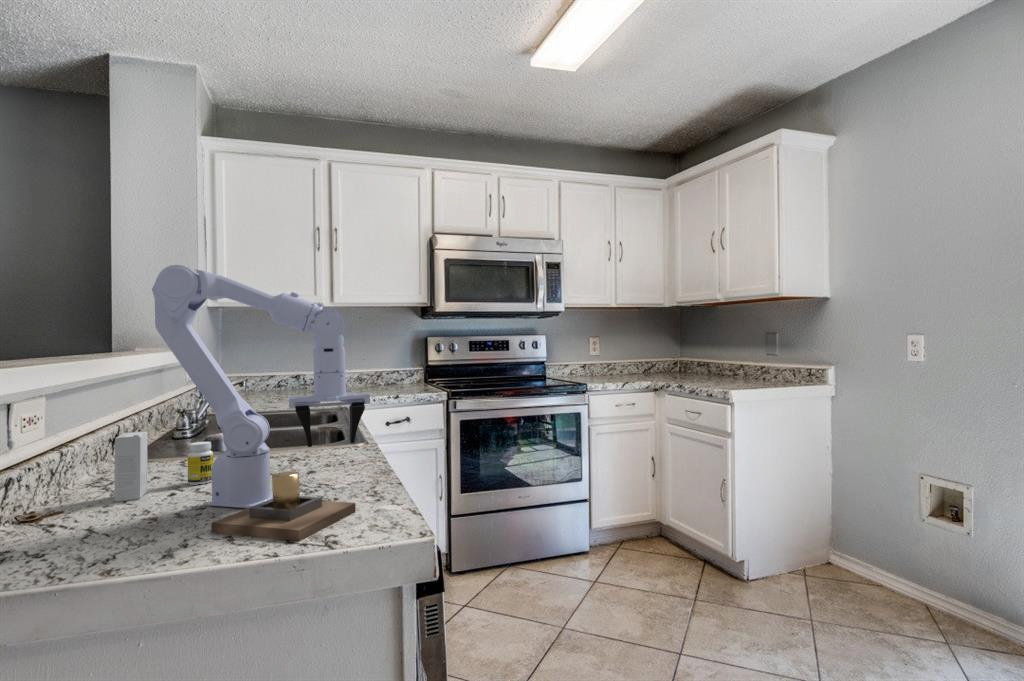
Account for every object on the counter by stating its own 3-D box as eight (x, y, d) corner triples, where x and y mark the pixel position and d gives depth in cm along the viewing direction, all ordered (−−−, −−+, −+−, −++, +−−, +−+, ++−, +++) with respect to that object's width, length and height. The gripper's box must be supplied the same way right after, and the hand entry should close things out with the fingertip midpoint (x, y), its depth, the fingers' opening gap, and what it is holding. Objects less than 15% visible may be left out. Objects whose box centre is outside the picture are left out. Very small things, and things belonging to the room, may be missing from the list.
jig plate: (211, 532, 83) (211, 522, 83) (276, 505, 96) (276, 497, 96) (299, 540, 78) (299, 530, 78) (355, 511, 92) (355, 502, 92)
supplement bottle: (201, 485, 113) (201, 445, 113) (182, 485, 114) (181, 444, 114) (218, 480, 118) (218, 441, 118) (199, 479, 118) (199, 440, 119)
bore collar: (249, 517, 85) (249, 508, 85) (283, 504, 92) (283, 495, 92) (290, 521, 83) (290, 511, 83) (322, 506, 90) (321, 497, 90)
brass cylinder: (267, 515, 86) (266, 477, 86) (284, 507, 90) (283, 470, 90) (289, 516, 85) (287, 478, 85) (305, 508, 89) (304, 471, 89)
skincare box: (122, 494, 107) (121, 432, 108) (149, 491, 109) (148, 431, 109) (113, 502, 102) (112, 437, 102) (142, 499, 103) (140, 435, 104)
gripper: (288, 375, 97) (290, 451, 97) (371, 371, 103) (373, 443, 103) (288, 373, 104) (289, 445, 104) (366, 370, 109) (368, 438, 109)
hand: (331, 444), depth 104 cm, fingers open, 7 cm apart
